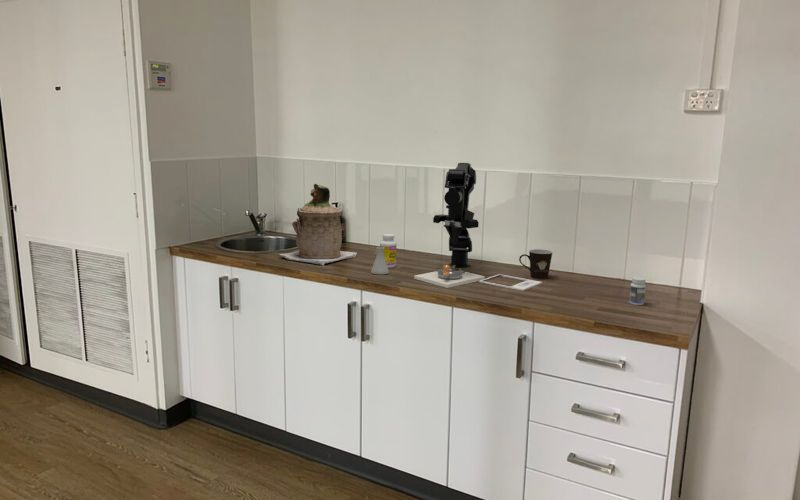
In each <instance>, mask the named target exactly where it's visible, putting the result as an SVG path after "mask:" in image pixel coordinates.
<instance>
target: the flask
mask: <svg viewBox="0 0 800 500" xmlns="http://www.w3.org/2000/svg"><path fill="white" fill-rule="evenodd" d="M375 256H376V257H375V260H374V263H373V266H372V268H371V271H370V273H371V274H373V275H388V274H390V271H389V268H387V265H386V261H385V258H384V247H380V246H377V247H376V255H375Z"/></svg>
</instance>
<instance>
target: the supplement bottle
mask: <svg viewBox="0 0 800 500" xmlns="http://www.w3.org/2000/svg"><path fill="white" fill-rule="evenodd" d="M397 245H398V244H397V241H395V234H393V233H384V234H382V240H381V241H380V242H379V247H384V258H385V261H386V265H387V268H388V269H389V268H394V267H396V266H397Z"/></svg>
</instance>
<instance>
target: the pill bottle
mask: <svg viewBox="0 0 800 500" xmlns="http://www.w3.org/2000/svg"><path fill="white" fill-rule="evenodd" d="M646 291H647V286H646V278H643V277H640V276H632V279H631V283H630V286H629V296H628V297H629V299H628V303H630V304H631V305H634V306H635V305H636V306H643V305H644V304H645V299H646Z"/></svg>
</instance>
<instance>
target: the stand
mask: <svg viewBox="0 0 800 500" xmlns="http://www.w3.org/2000/svg"><path fill="white" fill-rule="evenodd" d="M459 269H460V270H462V268H459ZM413 277H414V278H413V279H414V280H418V281H421V282H426V283H429V284H432V285H434V286H435V285H436V286H438V287H442V288H445V289H446V288H447V289H449V288H452V287H453V288H454V287H458V286H462V285H466V284H471V283H476V282H479V281H480V280H483V279H486V277H485V275H480V274H476V273H472V272H469V271H464V270H462V278H460V279H443V278H439V277H438V270H435V271H432V272H426V273H425V272H424V273H421V274H416V275H413Z"/></svg>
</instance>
